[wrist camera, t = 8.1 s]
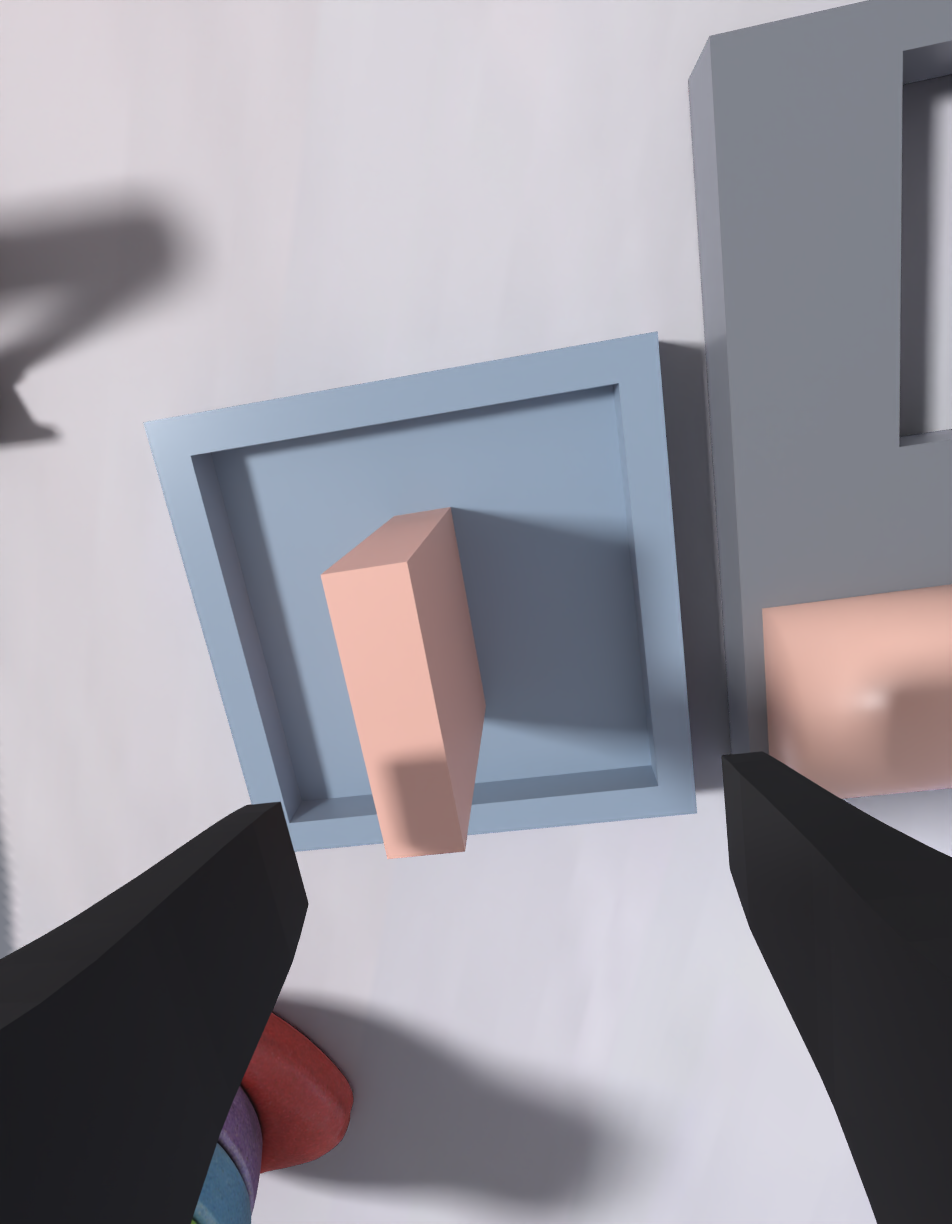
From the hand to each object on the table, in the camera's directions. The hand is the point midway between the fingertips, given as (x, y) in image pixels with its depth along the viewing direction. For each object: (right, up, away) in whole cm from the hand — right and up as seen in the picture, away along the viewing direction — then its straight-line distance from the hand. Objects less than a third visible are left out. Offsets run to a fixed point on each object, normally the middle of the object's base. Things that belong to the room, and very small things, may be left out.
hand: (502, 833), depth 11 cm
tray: (-1, +4, +9) cm, 10 cm away
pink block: (-1, +4, +9) cm, 9 cm away
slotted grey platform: (+11, +8, +7) cm, 15 cm away
